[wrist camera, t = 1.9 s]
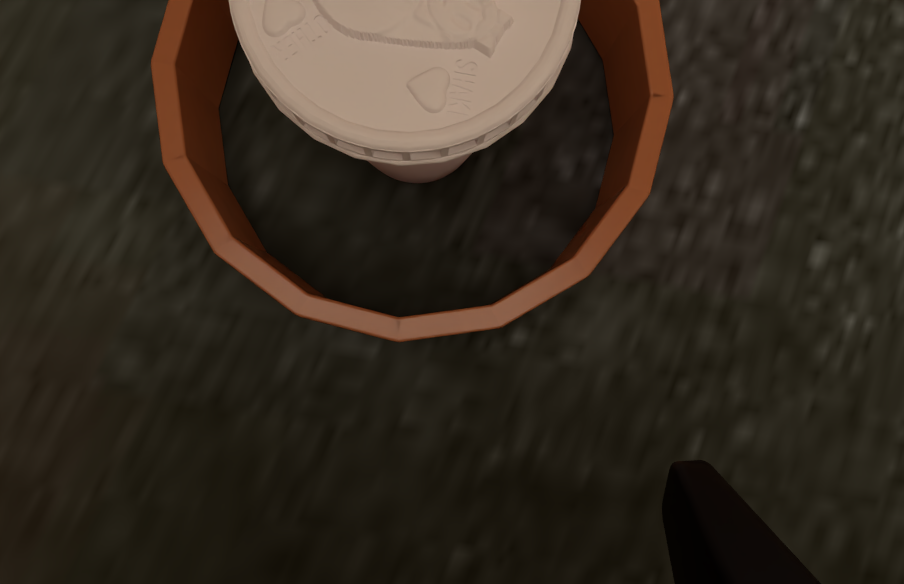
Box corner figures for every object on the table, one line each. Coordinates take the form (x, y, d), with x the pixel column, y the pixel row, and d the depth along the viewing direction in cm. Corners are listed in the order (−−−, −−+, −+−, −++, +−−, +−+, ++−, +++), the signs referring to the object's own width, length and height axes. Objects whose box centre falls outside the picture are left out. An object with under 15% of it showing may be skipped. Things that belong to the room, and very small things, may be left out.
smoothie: (385, -23, 23) (314, -545, 9) (564, 91, 23) (758, -265, 9) (268, 153, 23) (15, -118, 9) (449, 269, 23) (475, 175, 9)
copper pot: (713, 84, 24) (770, 33, 20) (458, 423, 23) (463, 443, 19) (195, -306, 24) (147, -434, 20) (-73, 19, 23) (-179, -46, 19)
